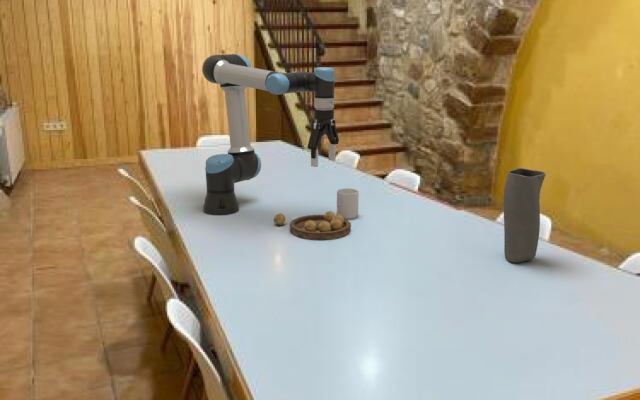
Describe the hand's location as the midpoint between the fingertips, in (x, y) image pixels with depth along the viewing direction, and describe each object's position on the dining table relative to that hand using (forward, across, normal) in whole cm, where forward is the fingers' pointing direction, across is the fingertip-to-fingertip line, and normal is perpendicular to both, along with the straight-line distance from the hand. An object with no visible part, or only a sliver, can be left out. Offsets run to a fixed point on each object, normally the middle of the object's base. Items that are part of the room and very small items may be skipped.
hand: (323, 163), depth 229 cm
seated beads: (+23, -10, -8) cm, 26 cm away
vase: (+24, -1, -77) cm, 80 cm away
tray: (+24, -10, -5) cm, 26 cm away
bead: (+24, -12, +12) cm, 30 cm away
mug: (+24, +12, -4) cm, 27 cm away
